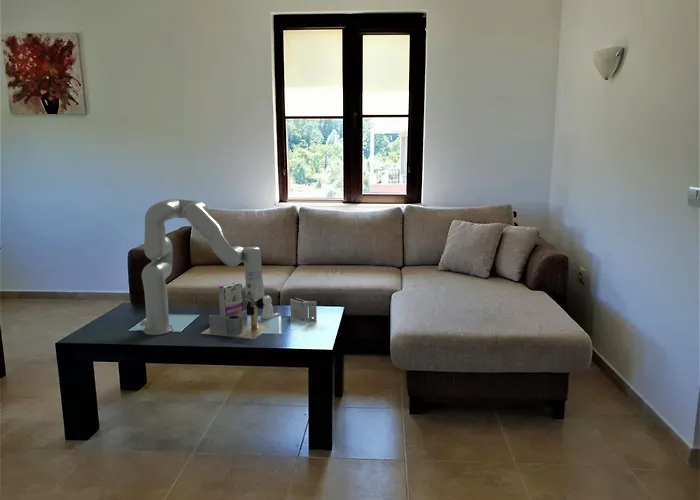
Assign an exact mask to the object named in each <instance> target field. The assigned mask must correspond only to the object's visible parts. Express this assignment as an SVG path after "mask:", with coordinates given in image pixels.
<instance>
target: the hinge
mask: <svg viewBox="0 0 700 500" xmlns="http://www.w3.org/2000/svg"><path fill="white" fill-rule="evenodd" d="M289 300H290V301H289V303H290V306H289V307H290V309H289V310H290V318H293V319H297V320H299V321H303V322H306V321H307V322H306V324H308V323H310V322H311V323H317V320H318V319H317V315H318V314H317V311H318V310H317V301H311V300H310V301H309V300H304V299H301V298H297V297H292V298H290V299H289Z"/></svg>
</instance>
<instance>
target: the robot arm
mask: <svg viewBox="0 0 700 500" xmlns="http://www.w3.org/2000/svg"><path fill="white" fill-rule="evenodd" d="M175 218H176V219H177V218H178V219H186V221H187V222H188V223H189V224H191V226H192V227H193V228H194V229H195V230H197V232H198V233H199V234H200V235H201V236H202V237H203V238H204V239H205V240H206V243H207V244H208V245H209V247H210V249H211V251H213V253H214V254H215V255H216V256H217V257H218V259H220V261H222V263H223V264H225V265H227V266H228V267H237V266H238V265H239V264H241V263H243V266H244V279H245V287H244V289H245V290H244V291H245V297H244V302H245V307H246V310H247V316H251V315H254V306H257V307H258V310H259V309H262V310H263V307H264V303H263V297H264V296H265V288H264V287H265V286H264V281H263V271H262V269H263V268H262V250H261V248H260V247H259V246H246V247H245V246H241V245H240V246H239V245H236V246H231V244H230V243H229V242H228V241H227V239H226V238H225V237H224V233H223V230H222V227H221V225H220V224H219V223H218V222H217V221H216V220H215V219H214V218H213V217H212V216H211V215H210V214H209V211H208V207H207V205H206V204H205V203H204V202H203V201H200V200H189V199H178V198H169V199H166V200H162V201H159V202H156V203H155V204H153V205H151V206H150V207H149V208H148V209H147V210H146V213H145V215H144V249H143V250H144V255H145V257H147V258H148V259H149V260H151V262H150V263H148V264H147V265H145V266H144V268H143V269H142V272H141V280H142V281H141V282H142V286H143V291H144V302H145V303H144V305H145V317H146V319H143V320H140V323H139V325H140V326H142V327H144V328H143V334H145V335H148V336H159V335H164V334H168V333H171V332H172V331H174V327H173V325H171V324H170V317H169V316H170V315H169V302H168V301H169V300H168V289H167V284H166V281H165V280H166V279H167V278H168V277H169V276H170V275H171V273H172V270H173V244H172V242H171V240H170V238H169V237H167V236H166V226H165V223H166V221H170V220H173V219H175ZM254 302H255V305H254Z"/></svg>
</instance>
